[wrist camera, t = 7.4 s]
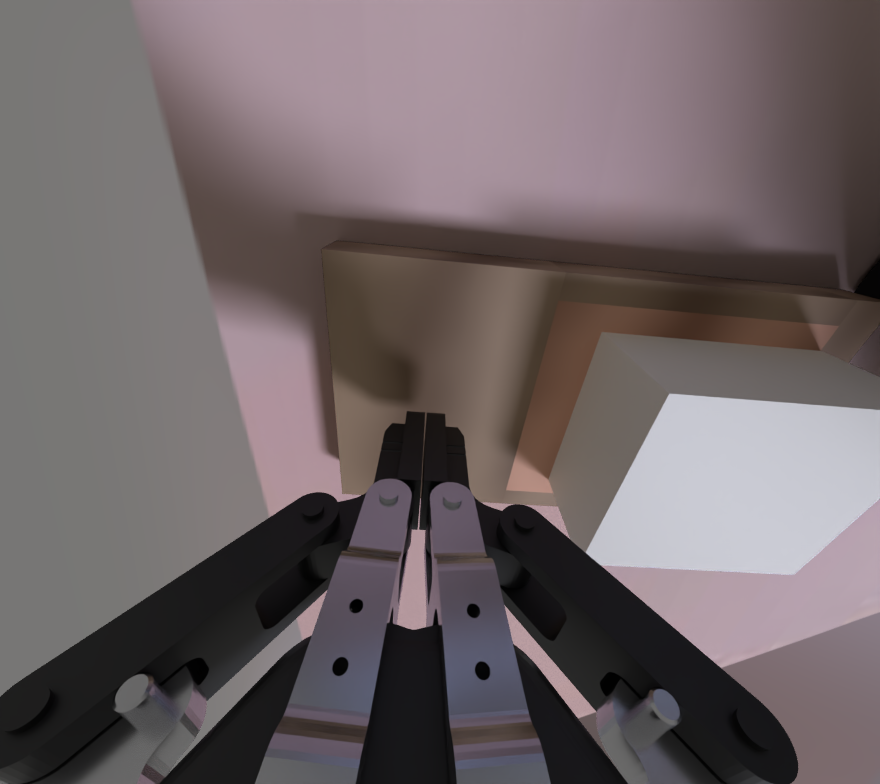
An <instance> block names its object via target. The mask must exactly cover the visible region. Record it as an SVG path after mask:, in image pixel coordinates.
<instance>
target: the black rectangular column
mask: <svg viewBox="0 0 880 784" xmlns="http://www.w3.org/2000/svg"><path fill="white" fill-rule="evenodd" d="M854 293H857V294H860V295H864V296H868V297H872V298H876V299H879V300H880V261H879V262H878V263H877V264H876V266H875V267H874V268H873V269H872V271H871V272H870V273H869V274H868V276H867V277H866V278H865V279H864V281H863V282H862V283H861V284H860V286H859V287H858V288H857V289H856V291H855V292H854Z"/></svg>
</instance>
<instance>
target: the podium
mask: <svg viewBox="0 0 880 784" xmlns="http://www.w3.org/2000/svg"><path fill="white" fill-rule="evenodd" d="M321 253H322V265H323V276H324V288H325V299H326V311H327V322H328V334H329V345H330V357H331V368H332V380H333V391H334V403H335V414H336V426H337V437H338V449H339V460H340V472H341V483H342V494H356V495H363V494H365V493H366V492H367V490H368V489H369V487H370V486H371V485H372V484H373V483H374V480H375V475H376V470H377V466H378V461H379V456H380V452H381V447H382V443H383V438H384V433H385V430H386V429H387V428H388V427H389V426H390V425H391V424H392V423H400V424H405V420H406V413H407V411H414V412H425V427H424V440H425V428H426V416H427V412H429V413H444V414H445V418H446V427H458V428H459V430H460V431H461V433H462V434H463V435H464V440H465V449H466V459H467V468H468V478H469V487H470V490H471V492H472V494H473V496H474V497H475V498H476V499H477V500H478V501H479V502H490V503H507V504H524V505H541V506H558V504H557V502H556V499H555V496H554V494H553V491H552V488H551V485H550V483H549V480H548V479H549V476H550V473H551V471H552V468H553V465H554V462H555V460H556V457H557V454H558V451H559V449H560V446H561V443H562V440H563V438H564V435H565V432H566V429H567V427H568V424H569V421H570V418H571V415H572V413H573V410H574V407H575V404H576V402H577V399H578V396H579V393H580V391H581V388H582V385H583V382H584V380H585V377H586V374H587V371H588V368H589V366H590V363H591V360H592V357H593V355H594V352H595V349H596V346H597V344H598V341H599V338H600V335H601V333H602V332H609V333H620V334H632V335H643V336H655V337H666V338H678V339H689V340H701V341H712V342H724V343H736V344H747V345H759V346H770V347H782V348H793V349H805V350H816V351H822V352H824V353H827V354H829V355H831V356H833V357H836V358H838V359H840V360H843V361H845V362H847V363H849V362H850V360H851V359H852V358H853V357H854V355H855V354H856V353H857V352H858V350H859V349H860V348H861V347H862V346H863V344H864V343H865V342H866V341H867V339H868V338H869V337H870V336H871V334H872V333H873V332H874V331H875V329H876V328H877V327H878V326H879V324H880V300H879V299H876V298H872V297H868V296H864V295H860V294H857V293H853V292H849V291H845V290H841V289H831V288H821V287H811V286H800V285H790V284H780V283H769V282H759V281H749V280H738V279H728V278H718V277H707V276H697V275H687V274H676V273H666V272H656V271H645V270H635V269H625V268H614V267H604V266H594V265H583V264H573V263H563V262H552V261H542V260H532V259H521V258H511V257H501V256H490V255H480V254H470V253H459V252H449V251H439V250H428V249H418V248H408V247H397V246H387V245H377V244H366V243H356V242H346V241H335V242H333V243H331V244H329V245H328V246H326V247H324V248H322V249H321ZM423 453H424V445H423ZM422 471H423V463H422ZM421 489H422V481H421ZM420 498H421V493H420Z"/></svg>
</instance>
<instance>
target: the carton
mask: <svg viewBox="0 0 880 784" xmlns="http://www.w3.org/2000/svg"><path fill="white" fill-rule="evenodd" d="M548 480H549V483H550V485H551V488H552V491H553V494H554V496H555V499H556V502H557V504H558V507H559V510H560V512H561V515H562V518H563V521H564V523H565V526H566V529H567V531H568V534H569V537H570V540H571V541H572V542H574V543H575V544H576V545H577V546H578V547H579V548H581V549H582V550H583V551H584V552H585V553H586V554H588V555H589V556H590V557H591V558H592V559H594V560H595V561H596V562H597V563H598V564H599V565H607V566H627V567H646V568H666V569H686V570H705V571H725V572H745V573H764V574H784V575H794V574H795V573H796V572H798V571H799V570H800V569H801V568H802V567H803V566H804V565H806V564H807V563H808V562H809V561H810V560H811V559H812V558H813V557H815V556H816V555H817V554H818V553H819V552H820V551H821V550H822V549H824V548H825V547H826V546H827V545H828V544H829V543H830V542H831V541H833V540H834V539H835V538H836V537H837V536H838V535H839V534H840V533H842V532H843V531H844V530H845V529H846V528H847V527H848V526H849V525H851V524H852V523H853V522H854V521H855V520H856V519H857V518H858V517H860V516H861V515H862V514H863V513H864V512H865V511H866V510H867V509H869V508H870V507H871V506H872V505H873V504H874V503H875V502H876V501H878V500H879V499H880V377H879V376H877V375H874V374H872V373H870V372H868V371H865V370H863V369H861V368H858V367H856V366H854V365H852V364H849V363H847V362H845V361H843V360H840V359H838V358H836V357H833V356H831V355H829V354H827V353H824V352H822V351H816V350H805V349H793V348H782V347H770V346H759V345H747V344H736V343H724V342H712V341H701V340H689V339H678V338H666V337H655V336H643V335H632V334H620V333H609V332H602V333H601V335H600V338H599V341H598V344H597V346H596V349H595V352H594V355H593V357H592V360H591V363H590V366H589V368H588V371H587V374H586V377H585V380H584V382H583V385H582V388H581V391H580V393H579V396H578V399H577V402H576V404H575V407H574V410H573V413H572V415H571V418H570V421H569V424H568V427H567V429H566V432H565V435H564V438H563V440H562V443H561V446H560V449H559V451H558V454H557V457H556V460H555V462H554V465H553V468H552V471H551V473H550V476H549V479H548Z"/></svg>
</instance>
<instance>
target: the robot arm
mask: <svg viewBox="0 0 880 784" xmlns="http://www.w3.org/2000/svg"><path fill="white" fill-rule="evenodd" d="M424 427H425V412H414V411H407V413H406V420H405V424H400V423H392V424H391V425H390V426H389V427H388V428H387V429H386V430H385V433H384V438H383V443H382V447H381V452H380V456H379V461H378V466H377V470H376V475H375V480H374V483H373V484H372V485H371V486H370V487H369V489H368V490H367V492H366V493H365V494H363V495H361V496H360V497H357V498H354V499H350V500H346V501H341V502H337V500H336V499H335V498H334V497H333V496H331V495H329V494H327V493H321V492H316V493H310V494H307V495H304V496H302V497H301V498H299V499H297V500H296V501H294V502H293V503H291V504H290V505H288V506H287V507H285V508H284V509H282V510H280V511H279V512H277V513H276V514H274V515H273V516H271V517H270V518H268V519H267V520H265V521H264V522H262V523H261V524H259V525H258V526H256V527H255V528H253V529H251V530H250V531H248V532H247V533H245V534H244V535H242V536H241V537H239V538H238V539H236V540H235V541H233V542H232V543H230V544H228V545H227V546H225V547H224V548H222V549H221V550H219V551H218V552H216V553H215V554H214V555H212V556H210V557H209V558H207V559H206V560H204V561H202V562H201V563H199V564H198V565H196V566H195V567H193V568H192V569H190V570H189V571H187V572H186V573H184V574H183V575H181V576H179V577H178V578H176V579H175V580H173V581H172V582H171V583H169V584H167V585H166V586H164V587H163V588H161V589H160V590H158V591H157V592H155V593H153V594H152V595H150V596H149V597H147V598H146V599H144V600H143V601H141V602H140V603H138V604H137V605H135V606H134V607H132V608H131V609H129V610H127V611H126V612H124V613H123V614H122V615H120V616H118V617H117V618H115V619H114V620H112V621H111V622H109V623H108V624H106V625H105V626H103V627H101V628H100V629H98V630H97V631H95V632H94V633H92V634H91V635H89V636H88V637H86V638H85V639H83V640H82V641H80V642H79V643H77V644H75V645H74V646H72V647H71V648H69V649H68V650H66V651H65V652H63V653H62V654H60V655H59V656H57V657H56V658H54V659H52V660H51V661H49V662H48V663H46V664H45V665H43V666H42V667H40V668H39V669H37V670H36V671H34V672H33V673H31V674H30V675H28V676H26V677H25V678H24V679H22V680H21V681H19V682H18V683H16V684H15V685H14V686H12V687H11V688H10V689H9V690H7V691H6V692H5V693H4V694H3V695H2V696H1V697H0V784H790V783H792V782H793V781H794V780H795V778H796V777H797V773H798V761H797V756H796V753H795V750H794V747H793V745H792V743H791V741H790V738H789V737H788V735H787V733H786V732H785V730H784V728H783V727H782V726H781V724H780V723H779V721H778V720H777V719H776V718H775V716H774V715H773V714H772V713H771V712H770V711H769V710H768V709H767V708H766V707H765V706H764V705H763V704H762V703H761V702H760V701H759V700H758V699H756V698H755V697H754V696H753V695H752V694H751V693H749V692H748V691H747V690H746V689H745V688H744V687H742V686H741V685H740V684H739V683H738V682H737V681H735V680H734V679H733V678H732V677H731V676H730V675H728V674H727V673H726V672H725V671H724V670H722V669H721V668H720V667H719V666H718V665H717V664H715V663H714V662H713V661H712V660H711V659H710V658H708V657H707V656H706V655H705V654H704V653H703V652H701V651H700V650H699V649H698V648H697V647H696V646H694V645H693V644H692V643H691V642H690V641H688V640H687V639H686V638H685V637H684V636H683V635H681V634H680V633H679V632H678V631H677V630H676V629H674V628H673V627H672V626H671V625H670V624H669V623H667V622H666V621H665V620H664V619H663V618H662V617H660V616H659V615H658V614H657V613H656V612H654V611H653V610H652V609H651V608H650V607H649V606H647V605H646V604H645V603H644V602H643V601H642V600H640V599H639V598H638V597H637V596H636V595H635V594H633V593H632V592H631V591H630V590H629V589H628V588H626V587H625V586H624V585H623V584H622V583H620V582H619V581H618V580H617V579H616V578H615V577H613V576H612V575H611V574H610V573H609V572H608V571H606V570H605V569H604V568H603V567H602V566H601V565H599V564H598V563H597V562H596V561H595V560H594V559H592V558H591V557H590V556H589V555H588V554H586V553H585V552H584V551H583V550H582V549H581V548H579V547H578V546H577V545H576V544H575V543H574V542H572V541H571V540H570V539H569V538H568V537H567V536H565V535H564V534H563V533H562V532H561V531H560V530H558V529H557V528H556V527H555V526H554V525H552V524H551V523H550V522H549V521H548V520H547V519H545V518H544V517H543V516H542V515H541V514H540V513H538V512H537V511H536V510H534V509H533V508H531V507H528V506H525V505H520V504H515V505H511V506H508V507H506V508H505V509H504V510H503V511H500V510H497V509H494V508H491V507H489V506H486V505H484V504H482V503H481V502H479V501H478V500H477V499H476V498H475V497H474V496H473V494H472V492H471V490H470V487H469V478H468V468H467V459H466V449H465V440H464V435H463V434H462V433H461V431H460V430H459V428H458V427H446V418H445V414H444V413H429V412H427V416H426V428H425V440H424ZM423 445H424V453H423ZM422 463H423V471H422ZM421 481H422V489H421ZM420 493H421V508H420V527H419V530H426V532H425V548H424V563H425V586H426V612H427V617H426V627H425V628H421V629H417V630H411V629H407V628H405V627H402V626H399V625H397V619H398V611H399V605H400V598H401V592H402V586H403V580H404V574H405V568H406V561H407V555H408V549H409V547H410V543H411V532H412V529H415V530H417V528H418V516H419V505H420ZM326 590H327V593H326V596H325V599H324V602H323V605H322V608H321V610H320V613H319V616H318V619H317V622H316V625H315V628H314V631H313V634H312V636H310V637H308V638H306V639H304V640H303V641H301V642H300V643H298V644H297V645H296V646H294V647H293V648H292V649H290V650H289V651H288V652H287V653H285V654H284V655H283V656H282V657H281V658H280V659H279V660H278V661H277V662H276V664H274V666H272V667H271V668H270V669H269V670H268V672H267V673H266V674H265V675H264V676H263V677H262V678H261V679H260V680H259V681H258V682H257V683H256V684H255V685H254V686H253V687H252V688H251V689H250V690H249V691H248V692H247V693H246V694H245V695H244V696H243V697H242V698H241V699H240V701H238V703H237V704H236V705H235V706H234V707H233V708H232V709H231V710H230V711H229V712H228V713H227V714H226V715H225V716H224V717H223V718H222V719H221V720H220V721H219V722H218V723H217V724H216V726H214V727H213V728H212V730H210V731H209V732H208V734H207V735H206V736H205V737H204V738H203V739H202V740H201V741H200V742H199V743H198V744H197V745H196V746H195V747H194V748H193V749H192V750H191V751H190V752H189V753H188V754H187V755H186V756H185V757H184V758H183V759H182V760H181V761H180V762H179V763H178V765H177V766H176V767H175V768H174V769H173V770H172V771H171V772H170V770H171V768H172V767H173V766H174V764H175V763H176V761H177V760H178V759H179V758H180V756H181V755H182V754H183V753H184V752H185V751H186V750H187V748H188V747H189V746H190V745H191V743H192V742H193V741H194V739H195V737H196V736H197V734H198V732H199V731H200V728H201V726H202V724H203V721H204V718H205V714H206V705H207V703H206V701H207V700H208V699H209V698H211V697H212V696H213V695H214V694H215V693H216V692H217V691H218V690H219V689H220V688H221V687H223V686H224V685H225V684H226V683H227V682H228V681H229V680H230V679H231V678H232V677H233V676H234V675H235V674H236V673H238V672H239V671H240V670H241V669H242V668H243V667H244V666H245V665H246V664H247V663H249V662H250V660H252V659H253V658H254V657H255V656H256V655H257V654H258V653H259V652H260V651H261V650H262V649H264V648H265V647H266V646H267V645H268V644H269V643H270V642H271V641H272V640H273V639H274V638H275V637H277V636H278V635H279V634H280V633H281V632H282V631H283V630H284V629H285V628H286V627H287V626H289V625H290V624H291V623H292V622H293V621H294V620H295V619H296V618H297V617H298V616H299V615H300V614H302V613H303V612H304V611H305V610H306V609H307V608H308V607H309V606H310V605H311V604H312V603H313V602H315V601H316V600H317V599H318V598H319V597H320V596H321V595H322V594H323V593H324V592H325V591H326ZM504 605H505V606H506V607H507V608H508V609H509V611H510V612H511V613H512V614H513V615H514V616H515V618H516V619H517V620H518V621H519V622H520V623H521V624H522V626H523V627H524V628H525V629H526V630H527V631H528V633H529V634H530V635H531V636H532V637H533V638H534V640H535V641H536V642H537V643H538V644H539V645H540V647H541V648H542V649H543V650H544V651H545V652H546V654H547V655H548V656H549V657H550V658H551V659H552V660H553V662H554V663H555V664H556V665H557V666H558V667H559V669H560V670H561V671H562V672H563V673H564V674H565V676H566V677H567V678H568V679H569V680H570V681H571V683H572V684H573V685H574V686H575V687H576V688H577V690H578V691H579V692H580V693H581V694H582V695H583V697H584V698H585V699H586V700H587V701H588V702H589V703H590V705H591V706H592V707H593V708H594V709H595V710H596V712H597V718H596V719H597V728H598V733H599V736H600V739H601V742H602V744H603V746H604V748H605V750H606V752H607V754H608V755H609V757H610V758H611V760H612V761H613V763H614V764H615V766H616V767H617V768H616V767H615V766H614V765H613V764H612V762H611V761H610V759H609V758H608V757H607V756H606V754H605V753H604V752H603V750H602V749H601V748H600V746H599V745H598V744H597V743H596V741H595V740H594V739H593V738H592V736H591V735H590V734H589V732H588V731H587V730H586V728H585V727H584V726H583V725H582V723H581V722H580V721H579V719H578V718H577V717H576V716H575V714H574V713H573V712H572V710H571V709H570V708H569V707H568V705H567V704H566V703H565V701H564V700H563V699H562V698H561V696H560V695H559V694H558V692H557V691H556V690H555V688H554V687H553V686H552V685H551V683H550V682H549V681H548V679H547V678H546V677H545V676H544V674H543V673H542V672H541V670H540V669H539V668H538V667H537V665H536V664H535V663H534V662H533V661H532V660H531V659H530V658H529V657H528V656H527V655H526V654H525V653H524V652H523V651H522V650H520V649H519V648H518V647H517V646H515V645H514V644H513V641H512V637H511V633H510V628H509V624H508V619H507V615H506V611H505V606H504ZM617 769H618V770H617ZM169 772H170V773H169Z"/></svg>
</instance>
